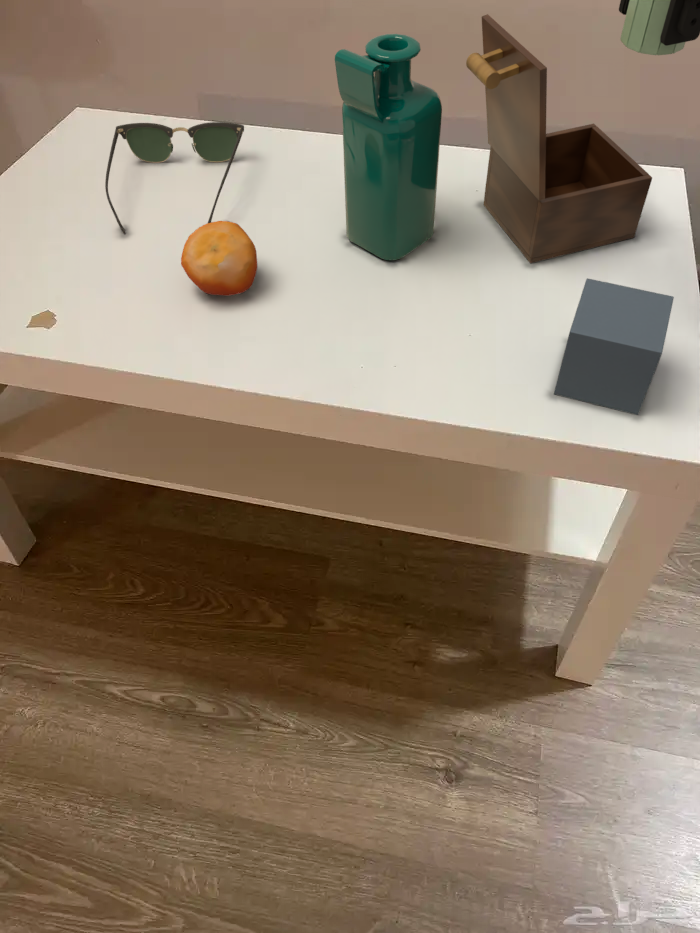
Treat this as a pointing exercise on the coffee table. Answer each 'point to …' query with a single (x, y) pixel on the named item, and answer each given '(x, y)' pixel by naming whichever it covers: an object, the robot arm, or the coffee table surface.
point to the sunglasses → (156, 145)
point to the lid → (514, 103)
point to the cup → (647, 27)
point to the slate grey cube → (614, 345)
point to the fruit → (220, 258)
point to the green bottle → (388, 147)
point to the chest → (570, 196)
